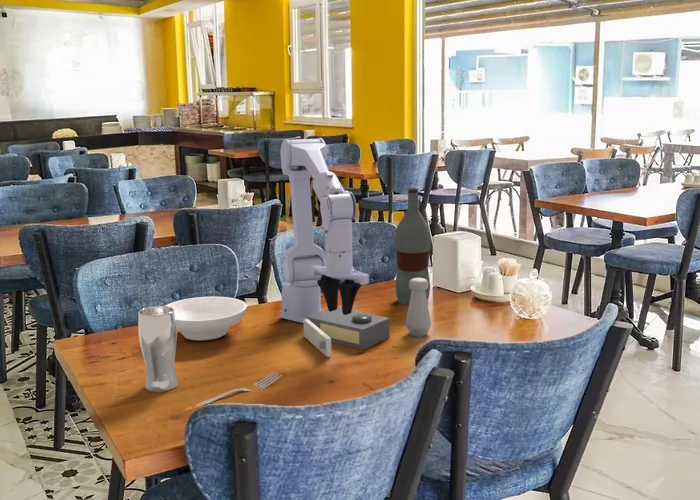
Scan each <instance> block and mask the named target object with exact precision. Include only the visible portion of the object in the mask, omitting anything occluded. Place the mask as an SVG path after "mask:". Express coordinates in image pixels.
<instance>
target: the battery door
mask: <svg viewBox="0 0 700 500" xmlns="http://www.w3.org/2000/svg"><path fill="white" fill-rule="evenodd" d="M302 324H303V337H304V338H306V339H307V341H308V342H310V343H311V344H312V345H313V346H314V347H315V348H316V349H317V350H319V351H320V352H321V353H322V354H323V355H324V356H325V357H326V358H330V357H332V342H331V338H330V337H329V336H328V335H327V334H325V333H324V332H323V331H322V330H321V329H319V328H318V327H317V326H316V325H315V324H313V323H312V322H311V321H310V320H309V319H307V318H304V319H303V323H302Z"/></svg>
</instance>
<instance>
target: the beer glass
mask: <svg viewBox="0 0 700 500" xmlns="http://www.w3.org/2000/svg"><path fill="white" fill-rule="evenodd" d="M137 314H138V315H137V316H138V317H137V318H138V321H137V322H138V323H137V324H138V325H137V326H138V330H137V331H138V340H139V346H140V349H141V353H142V357H143V361H144V365H145V381H144V388H145V389H146V391H148V392H151V393H153V392H154V393H163V392H167V391H171V390H173V389H176V388H177V387H178V384H179V382H178V379H177V374H176V368H175V361H176V360H175V359H176V350H177V341H178V340H177V339H178V332H177V331H178V330H177V328H176V320H175V314H174V309H173V308H172V307H168V306H166V305H154V306H149V307H148V306H147V307H144V308H142V309H140V310H139V311H138V312H137Z"/></svg>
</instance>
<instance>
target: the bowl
mask: <svg viewBox="0 0 700 500" xmlns="http://www.w3.org/2000/svg"><path fill="white" fill-rule="evenodd" d="M165 306H168V307H172V308H173V309H174V314H175V320H176V328H177V331H179V332H180V333H181V334H182V336H183V337H184V338H185V339H187V340H192V341H209V340H214V339H219V338H221V337H223V336H225V335H226V334H227V332H228V331H229V329H230V327H231V326H234V325H236V324H238V323H239V322H240V321H241V320H242V318H243V317H244V315H245V313H246V312H247V303H246V302H245V301H243V300H241V299H237V298H234V297H229V296H228V297H226V296H201V297H200V296H199V297H198V296H197V297H191V298H184V299H181V300H177V301H173V302H170V303H168V304H166V305H165Z"/></svg>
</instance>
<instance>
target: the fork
mask: <svg viewBox="0 0 700 500" xmlns="http://www.w3.org/2000/svg"><path fill="white" fill-rule="evenodd" d="M281 377H282V374H280V373H278V372H276V371H274V372H272V373H270V374H269V375H267V376H266V377H264V378H262V379H261V380H259V381H258V382H255V383H253V384H254V385H253V386H255V385H256V386H257V385H260V387H261V388H264V389H266V388H268V387H269V386H271V384H273V383H274V382H276V381H277V380H279V378H281ZM256 386H255V387H256ZM257 387H258V386H257ZM265 387H266V388H265ZM247 389H248V388H246V389H245V388H235V389H232V390H229V391H227V392H225V393H222V394H219V395H217V396H215V397H212V398H210V399H206V400H205V401H202V402H199V404H198V403H196V404H197V405H196V404H195V405H196V406H200V404H204V403H207V405H209V404H211V403H213V402H215V401H218V400H220V399H221V398H224V397H226V396H229V395H230V394H232V393H235V392H246V391H249V390H250V389H248V390H247Z"/></svg>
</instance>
